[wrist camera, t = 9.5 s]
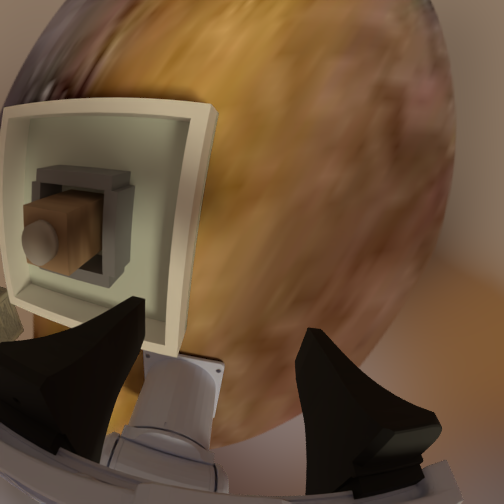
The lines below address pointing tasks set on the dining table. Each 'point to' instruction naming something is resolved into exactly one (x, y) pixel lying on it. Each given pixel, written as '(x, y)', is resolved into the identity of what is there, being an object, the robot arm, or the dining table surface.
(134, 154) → the cream square tray
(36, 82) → the dining table surface
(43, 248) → the peg
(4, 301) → the skincare box
